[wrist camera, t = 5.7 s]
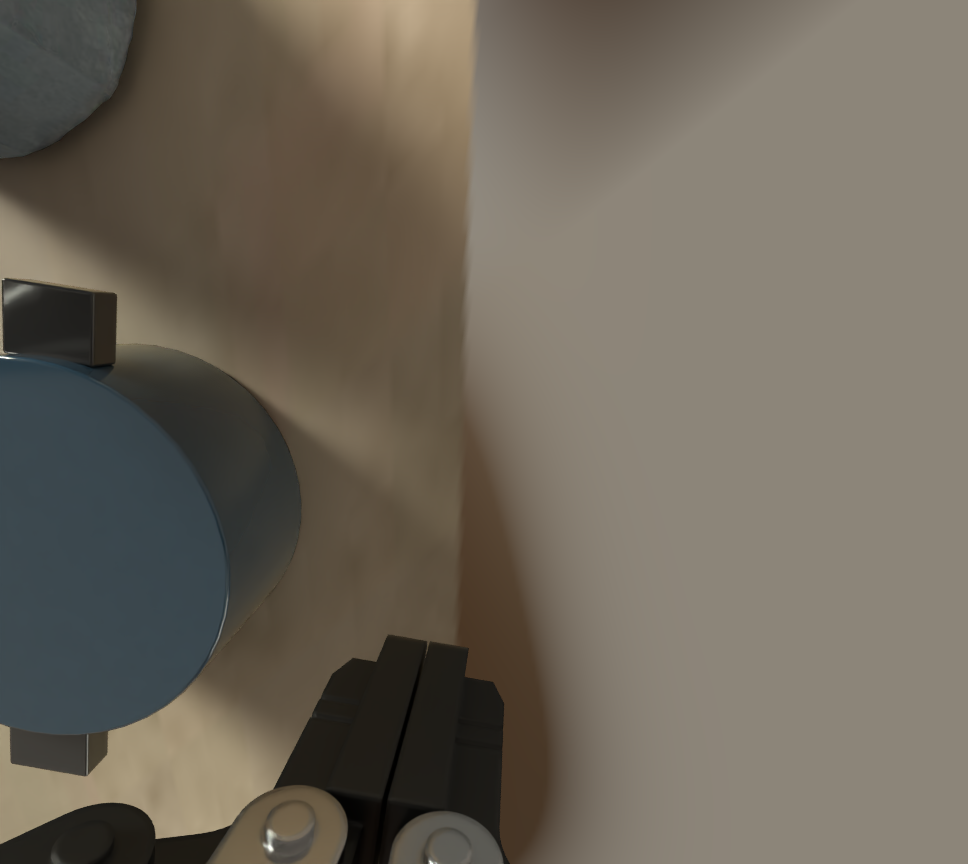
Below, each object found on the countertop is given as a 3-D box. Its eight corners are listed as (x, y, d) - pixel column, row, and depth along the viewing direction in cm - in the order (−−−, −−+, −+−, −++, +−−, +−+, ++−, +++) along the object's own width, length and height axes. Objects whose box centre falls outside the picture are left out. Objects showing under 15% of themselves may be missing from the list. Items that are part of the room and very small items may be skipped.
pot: (9, 650, 19) (-148, 755, 14) (1, 265, 16) (-191, 248, 12) (284, 697, 18) (213, 818, 14) (320, 316, 16) (247, 318, 12)
